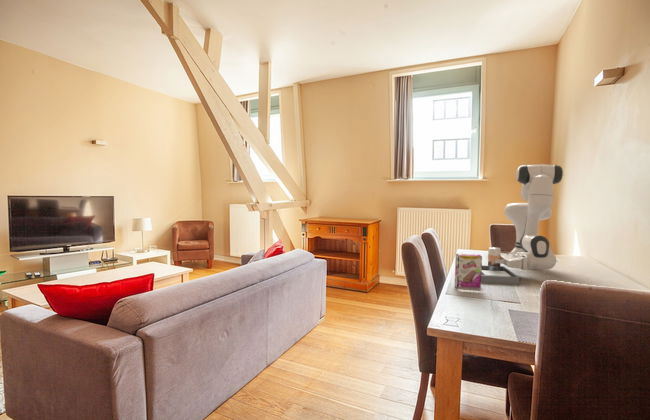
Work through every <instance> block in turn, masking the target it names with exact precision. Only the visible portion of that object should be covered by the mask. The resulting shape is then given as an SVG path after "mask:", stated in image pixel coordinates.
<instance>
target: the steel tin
mask: <svg viewBox="0 0 650 420" xmlns="http://www.w3.org/2000/svg"><path fill="white" fill-rule="evenodd" d="M501 250H502V249H501V247H498V246H497V247H494V246H489V247H488V252H487V266H488V271H500V266H501V265H502V264H501V263H495V262H494V259H500V260H501V253H502V252H501Z"/></svg>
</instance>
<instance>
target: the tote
mask: <svg viewBox="0 0 650 420" xmlns="http://www.w3.org/2000/svg"><path fill="white" fill-rule="evenodd" d="M481 270H487V271H488V265H482V267H481ZM500 271H505V272H506V273H508V274H509V275H510V276H511V277H508V276H487V275H481V284H499V285H500V284H501V285H518V286H519V285H520V277H519V276H518V275H516V273H513V271H511V270H510V269H508V267H507V266H504V265H502V266H501V265H500Z"/></svg>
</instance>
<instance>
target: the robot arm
mask: <svg viewBox="0 0 650 420" xmlns="http://www.w3.org/2000/svg"><path fill="white" fill-rule="evenodd" d="M515 177H516V178H515V179H516V181H517V182H518V183H520V184H521V190H520V197H521V198H522V199H523V200H524V201H526V202H512V203H508V204H507V205H505V207H504V209H503V210H504V212H503V214H504V215H505V217H506V219H508V220H509V221H511V223H512V224H513V225H514V228H515V235H516V236H515V238H516V239H515V243H514V248H513V249H512V250H511V252H508V253H503V252H501V260H500V259H494V262H495V263H501V265H503V266H504V265H505V267H506V268H511V269H519V270H523V271H527V270H529V269H534V270H550V269H553V268H554V267H555V266H556V263H557V256H556V255H555V254H554V252H553V251H552V249H551V247H550V246H551V245H550V241H549V240H548V238H547V237H545V236H543V235H539V233H538V232H539V227H540V221H545V220H549V219H550V218H551V216H552V213H553V211H552V206H553V203H554V185H557V184H559V183H561V182H562V179H563V177H564V170H563V168H562V166H561V165H557V164H553V165H552V164H543V163H541V164H522V165H520V166H518V168H517V170H516V172H515Z"/></svg>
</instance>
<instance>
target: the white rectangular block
mask: <svg viewBox="0 0 650 420" xmlns="http://www.w3.org/2000/svg"><path fill="white" fill-rule="evenodd" d="M481 275H487V276H508V277H511V276H510V275H509V274H508V273H506V272H505V271H487V270H481Z"/></svg>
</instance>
